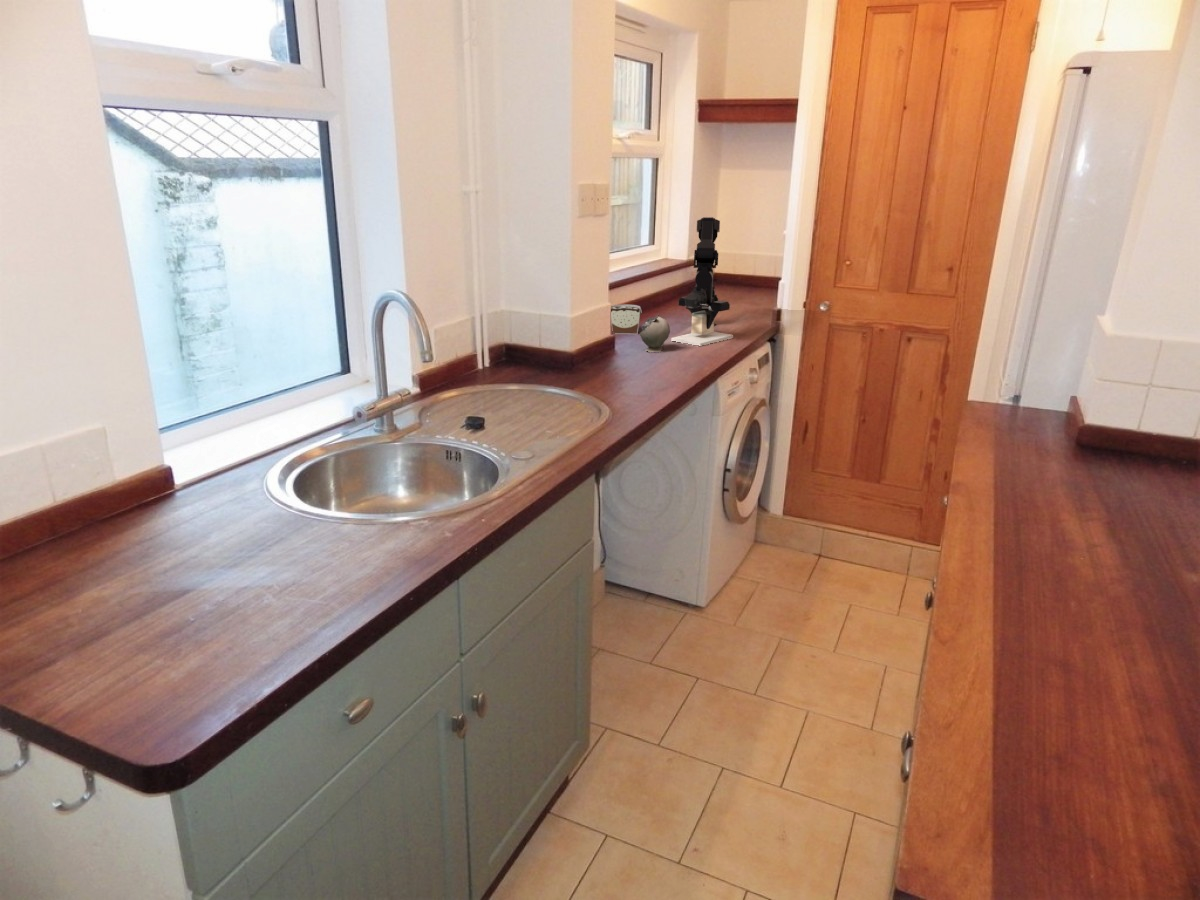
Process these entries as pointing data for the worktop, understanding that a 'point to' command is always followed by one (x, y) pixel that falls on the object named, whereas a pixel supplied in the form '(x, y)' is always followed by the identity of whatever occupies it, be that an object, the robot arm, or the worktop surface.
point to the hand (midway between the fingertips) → (702, 327)
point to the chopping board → (702, 338)
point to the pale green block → (701, 323)
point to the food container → (625, 319)
